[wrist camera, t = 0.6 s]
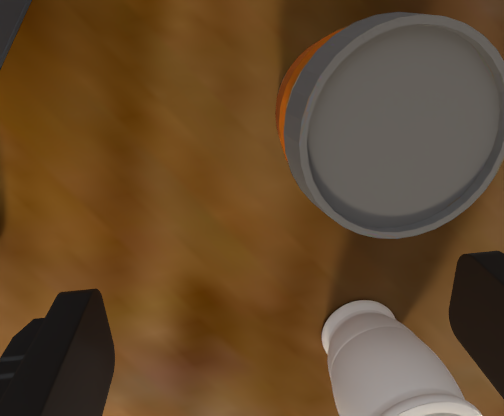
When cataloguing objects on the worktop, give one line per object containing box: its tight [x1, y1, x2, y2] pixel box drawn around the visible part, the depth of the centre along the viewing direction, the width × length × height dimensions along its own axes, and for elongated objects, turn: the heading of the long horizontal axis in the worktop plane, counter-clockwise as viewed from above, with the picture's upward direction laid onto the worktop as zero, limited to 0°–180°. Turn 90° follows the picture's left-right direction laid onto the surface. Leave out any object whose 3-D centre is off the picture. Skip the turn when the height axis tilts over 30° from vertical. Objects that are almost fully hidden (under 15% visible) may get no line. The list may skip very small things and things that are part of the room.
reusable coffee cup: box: [275, 12, 504, 239], centre depth 29 cm, size 13×13×15 cm
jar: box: [322, 300, 483, 416], centre depth 39 cm, size 11×10×15 cm
